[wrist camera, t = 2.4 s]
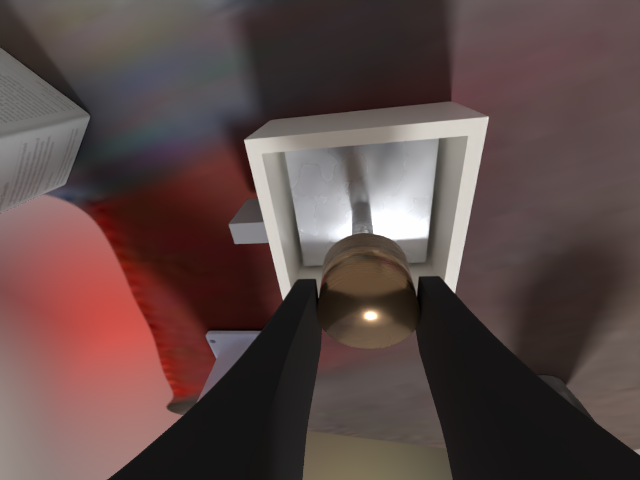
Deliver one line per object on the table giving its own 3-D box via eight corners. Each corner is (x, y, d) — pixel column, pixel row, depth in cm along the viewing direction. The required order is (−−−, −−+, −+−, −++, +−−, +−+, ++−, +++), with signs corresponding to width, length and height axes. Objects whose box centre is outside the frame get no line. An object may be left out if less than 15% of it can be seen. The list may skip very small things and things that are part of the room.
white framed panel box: (432, 254, 19) (452, 303, 15) (269, 259, 20) (251, 304, 16) (451, 101, 14) (489, 116, 10) (235, 123, 15) (197, 144, 12)
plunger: (423, 256, 17) (469, 385, 10) (305, 260, 18) (278, 379, 11) (436, 131, 13) (523, 205, 6) (286, 144, 14) (227, 221, 7)
